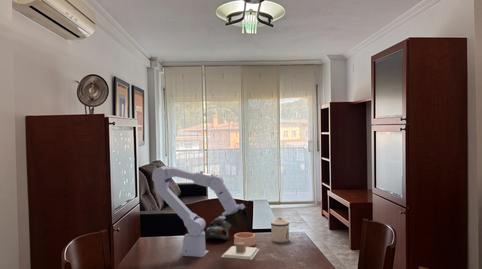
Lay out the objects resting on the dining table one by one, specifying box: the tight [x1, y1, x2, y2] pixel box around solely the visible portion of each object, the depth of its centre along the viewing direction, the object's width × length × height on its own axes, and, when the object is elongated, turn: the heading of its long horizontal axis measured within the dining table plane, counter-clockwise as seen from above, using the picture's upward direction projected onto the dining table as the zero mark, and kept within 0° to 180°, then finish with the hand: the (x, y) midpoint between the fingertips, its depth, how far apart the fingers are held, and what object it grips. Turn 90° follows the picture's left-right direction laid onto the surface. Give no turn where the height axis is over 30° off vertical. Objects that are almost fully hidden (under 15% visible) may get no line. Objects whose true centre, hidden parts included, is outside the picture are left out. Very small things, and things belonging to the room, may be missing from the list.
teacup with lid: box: [270, 216, 290, 243], centre depth 182 cm, size 12×9×12 cm
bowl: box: [233, 231, 257, 247], centre depth 175 cm, size 10×10×4 cm
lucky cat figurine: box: [204, 215, 232, 241], centre depth 186 cm, size 15×12×14 cm
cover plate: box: [223, 242, 258, 259], centre depth 162 cm, size 12×12×4 cm
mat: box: [220, 246, 261, 260], centre depth 162 cm, size 14×14×1 cm
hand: (242, 226), depth 160 cm, fingers open, 7 cm apart
